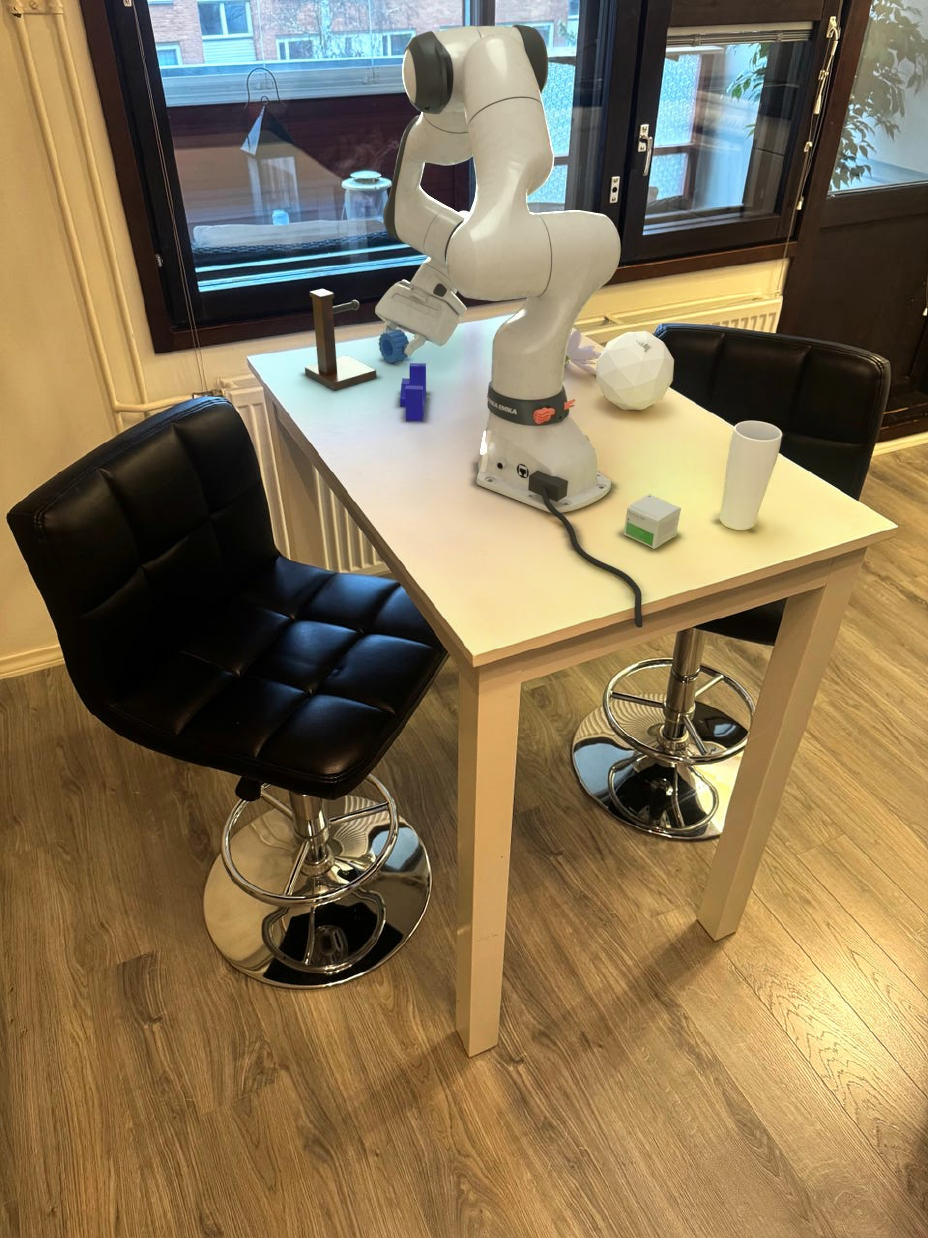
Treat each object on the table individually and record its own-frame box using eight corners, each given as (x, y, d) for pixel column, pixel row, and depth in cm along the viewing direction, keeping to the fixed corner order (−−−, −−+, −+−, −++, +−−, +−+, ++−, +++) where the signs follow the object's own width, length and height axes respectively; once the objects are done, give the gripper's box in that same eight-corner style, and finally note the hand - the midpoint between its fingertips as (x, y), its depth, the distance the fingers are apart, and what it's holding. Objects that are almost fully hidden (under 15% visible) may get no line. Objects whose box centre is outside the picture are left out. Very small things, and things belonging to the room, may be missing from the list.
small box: (622, 535, 132) (626, 505, 129) (645, 521, 135) (650, 492, 132) (654, 550, 129) (659, 521, 126) (677, 536, 132) (682, 506, 129)
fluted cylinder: (392, 354, 187) (391, 325, 183) (410, 362, 183) (409, 333, 180) (379, 357, 185) (377, 329, 181) (397, 366, 182) (396, 337, 178)
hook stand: (347, 362, 183) (342, 277, 172) (377, 377, 177) (373, 290, 167) (305, 374, 177) (297, 287, 167) (334, 390, 171) (327, 301, 161)
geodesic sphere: (700, 392, 159) (684, 311, 158) (629, 403, 155) (612, 320, 154) (657, 413, 173) (642, 339, 173) (591, 424, 169) (575, 348, 168)
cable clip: (402, 393, 171) (401, 362, 167) (426, 393, 171) (426, 363, 167) (397, 420, 161) (396, 388, 158) (422, 421, 161) (422, 389, 158)
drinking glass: (726, 506, 139) (746, 415, 130) (767, 521, 136) (791, 429, 127) (705, 523, 135) (725, 431, 126) (747, 539, 131) (770, 445, 122)
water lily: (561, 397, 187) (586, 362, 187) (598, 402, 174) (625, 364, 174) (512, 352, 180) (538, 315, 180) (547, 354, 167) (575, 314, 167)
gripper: (390, 268, 186) (354, 326, 186) (455, 294, 173) (416, 355, 174) (408, 286, 191) (373, 342, 191) (472, 312, 179) (434, 371, 179)
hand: (394, 348), depth 183 cm, fingers closed on fluted cylinder, 6 cm apart
